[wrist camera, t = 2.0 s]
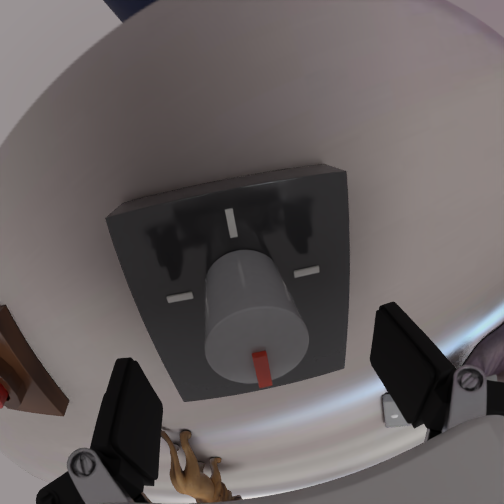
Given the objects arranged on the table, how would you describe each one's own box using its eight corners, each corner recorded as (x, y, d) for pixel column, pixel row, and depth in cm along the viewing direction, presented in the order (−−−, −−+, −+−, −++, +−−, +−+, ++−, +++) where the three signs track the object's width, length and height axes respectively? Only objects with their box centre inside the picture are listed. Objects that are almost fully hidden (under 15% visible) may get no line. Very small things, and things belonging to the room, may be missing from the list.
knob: (196, 257, 14) (191, 325, 9) (276, 242, 14) (310, 300, 9) (214, 321, 15) (218, 396, 11) (284, 307, 16) (313, 376, 11)
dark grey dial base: (121, 203, 15) (103, 219, 12) (324, 163, 16) (348, 171, 13) (184, 373, 21) (183, 403, 18) (331, 343, 22) (345, 369, 19)
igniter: (-42, 313, 16) (-61, 335, 12) (5, 305, 16) (-18, 333, 13) (13, 395, 21) (2, 419, 17) (69, 400, 21) (59, 430, 18)
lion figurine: (244, 464, 30) (254, 520, 21) (211, 472, 30) (216, 526, 22) (176, 420, 24) (176, 500, 15) (137, 429, 24) (131, 501, 16)
